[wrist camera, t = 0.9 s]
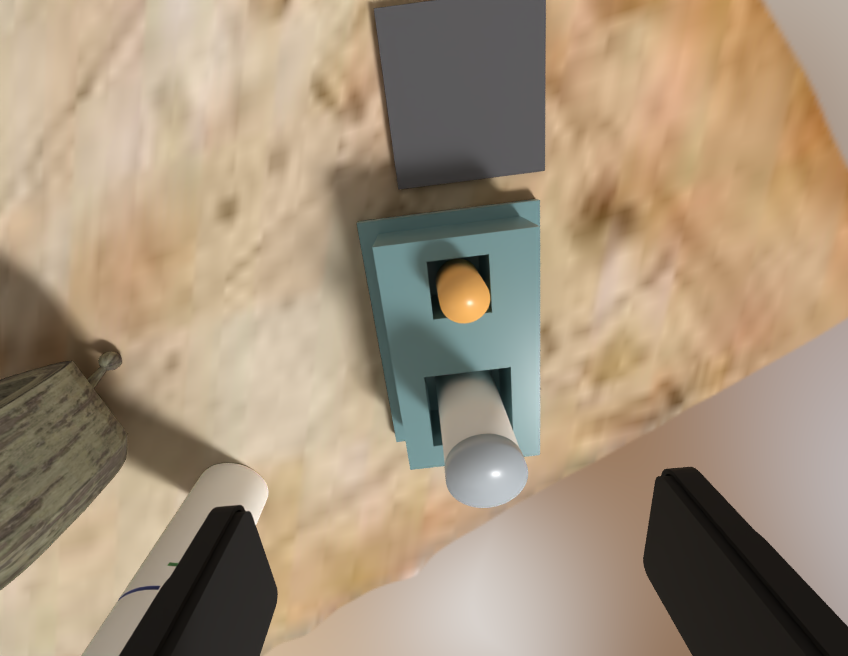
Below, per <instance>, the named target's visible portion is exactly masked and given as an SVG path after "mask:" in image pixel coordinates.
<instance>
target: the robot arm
mask: <svg viewBox="0 0 848 656" xmlns="http://www.w3.org/2000/svg"><path fill="white" fill-rule="evenodd" d="M643 563H644V568H645V571H646V574H647V576H648V578H649V580H650V582H651V583H652V585H653V587H654V589H655V590H656V592H657V594H658V596H659V597H660V599H661V601H662V603H663V604H664V606H665V608H666V610H667V611H668V613H669V615H670V617H671V619H672V620H673V622H674V624H675V625H676V627H677V629H678V631H679V633H680V634H681V636H682V638H683V640H684V641H685V643H686V645H687V647H688V648H689V650H690V652H691V654H692V655H693V656H848V626H847V625H846V624H845V623H844V622H843V621H842V620H841V619H840V618H839V617H838V616H837V615H836V614H835V613H834V612H833V610H832V609H831V608H830V607H829V606H828V605H827V604H826V603H825V602H824V601H823V600H822V599H821V598H820V597H819V596H818V595H817V594H816V593H815V591H814V590H812V588H811V587H810V586H809V585H808V584H807V583H806V582H805V581H804V580H803V579H802V578H801V577H800V576H799V575H798V574H797V572H795V570H794V569H793V568H792V567H791V566H790V565H789V564H788V563H787V562H786V561H785V560H784V559H783V558H782V557H781V556H780V555H779V553H778V552H777V551H776V550H775V549H774V548H773V547H772V546H771V545H770V544H769V543H768V542H767V541H766V540H765V539H764V538H763V537H762V536H761V535H760V534H758V533H757V532H756V531H755V530H754V529H753V528H752V527H751V526H750V525H749V524H748V523H747V522H746V521H745V520H744V519H743V518H742V517H741V515H739V514H738V512H737V511H736V510H735V509H734V508H733V507H732V506H731V505H730V504H729V503H728V502H727V501H726V499H725V498H724V497H723V496H722V495H721V494H720V493H719V492H718V491H717V490H716V489H715V488H714V487H713V486H712V485H711V484H710V482H709V481H708V480H707V479H706V478H705V477H704V476H703V475H702V474H701V473H700V472H699V471H698V470H697V469H695V468H693V467H683V468H671V469H664V471H663V472H662V475H661V476H658V477H657V478H656V480H655V486H654V492H653V499H652V506H651V512H650V519H649V526H648V531H647V538H646V544H645V551H644V557H643ZM277 595H278V594H277V587H276V584H275V581H274V578H273V575H272V572H271V569H270V566H269V563H268V560H267V557H266V554H265V551H264V548H263V546H262V543H261V540H260V537H259V534H258V531H257V528H256V525H255V522H254V519H253V516H252V514H251V512H250V511H245V509H244V507H243V506H242V505H233V506H221V507H215V508H213V509H212V510H211V512H210V513H209V514H208V516H207V518H206V519H205V521H204V522H203V524H202V526H201V527H200V529H199V531H198V532H197V534H196V535H195V537H194V539H193V540H192V542H191V544H190V545H189V547H188V548H187V550H186V552H185V553H184V555H183V557H182V558H181V560H180V561H179V563H178V565H177V566H176V568H175V570H174V571H173V573H172V574H171V576H170V578H169V579H167V580H166V582H165V583H164V584H163V586H162V587H161V589H160V590H159V592H158V593H157V595H156V597H155V598H154V600H153V601H152V603H151V605H150V606H149V608H148V609H147V611H146V613H145V614H144V616H143V617H142V619H141V621H140V622H139V624H138V626H137V627H136V629H135V630H134V632H133V634H132V635H131V637H130V638H129V640H128V642H127V643H126V645H125V646H124V648H123V650H122V651H121V653H120V654H119V656H260V653H261V650H262V647H263V644H264V641H265V638H266V635H267V632H268V629H269V626H270V623H271V620H272V616H273V613H274V610H275V607H276V604H277Z"/></svg>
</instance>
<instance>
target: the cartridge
mask: <svg viewBox="0 0 848 656" xmlns="http://www.w3.org/2000/svg"><path fill="white" fill-rule="evenodd" d="M435 381H436V390H437V399H438V407H439V416H440V425H441V434H442V443H443V452H444V461H445V477H446V484H447V488H448V490H449V492H450V493H451V495H452V496H453V497H454V498H455V499H456V500H458V501H459V502H461V503H463V504H465V505H468V506H472V507H478V508H489V507H495V506H499V505H502V504H504V503H506V502H508V501H510V500H512V499H513V498H515V497H516V496H517V495H518V494H519V493H520V492H521V491H522V489H523V488H524V486H525V484H526V482H527V478H528V468H527V464H526V462H525V459H524V456H523V454H522V452H521V450H520V448H519V445H518V443H517V440H516V437H515V435H514V432H513V430H512V427H511V424H510V422H509V419H508V416H507V414H506V411H505V408H504V406H503V403H502V400H501V398H500V395H499V392H498V390H497V387H496V384H495V382H494V379H493V376H492V374H491V371H490V370H482V371H474V372H465V373H457V374H449V375H440V376H435Z"/></svg>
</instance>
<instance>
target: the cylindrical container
mask: <svg viewBox="0 0 848 656" xmlns="http://www.w3.org/2000/svg"><path fill="white" fill-rule="evenodd" d="M267 497H268V487H267V484H266V482H265V481H264V479H263V478H262V477H261V476H260V475H259V474H258V473H257V472H256V471H254V470H252V469H251V468H249V467H246V466H244V465H240V464H236V463H221V464H216V465H213V466H211V467H209V468H208V469H206V470H205V471H204V472H203V473H202V474H201V476H200V477H199V479H198V480H197V482H196V483H195V485H194V486H193V488H192V489H191V491H190V492H189V494H188V495H187V497H186V499H185V500H184V502H183V503H182V505H181V506H180V508H179V509H178V511H177V512H176V514H175V515H174V517H173V518H172V520H171V521H170V523H169V524H168V526H167V527H166V529H165V530H164V532H163V533H162V535H161V536H160V538H159V539H158V541H157V542H156V544H155V545H154V547H153V548H152V550H151V551H150V553H149V554H148V556H147V557H146V559H145V560H144V562H143V563H142V565H141V566H140V568H139V569H138V571H137V573H136V574H135V576H134V577H133V579H132V580H131V582H130V583H129V585H128V586H127V588H126V589H125V591H124V592H123V594H122V595H121V597H120V598H119V600H118V602H117V603H116V604H115V606H114V607H113V609H112V610H111V612H110V613H109V615H108V616H107V618H106V619H105V621H104V622H103V624H102V625H101V627H100V628H99V630H98V631H97V633H96V634H95V636H94V637H93V639H92V640H91V642H90V643H89V645H88V646H87V648H86V649H85V651H84V653H83V654H82V656H119V654H120V653H121V651H122V650H123V648H124V646H125V645H126V643H127V642H128V640H129V638H130V637H131V635H132V634H133V632H134V630H135V629H136V627H137V626H138V624H139V622H140V621H141V619H142V617H143V616H144V614H145V613H146V611H147V609H148V608H149V606H150V605H151V603H152V601H153V600H154V598H155V597H156V595H157V593H158V592H159V590H160V589H161V587H162V586H163V584H164V583H165V582H166V580H167V579H169V578H170V576H171V574H172V573H173V571H174V570H175V568H176V566H177V565H178V563H179V561H180V560H181V558H182V557H183V555H184V553H185V552H186V550H187V548H188V547H189V545H190V544H191V542H192V540H193V539H194V537H195V535H196V534H197V532H198V531H199V529H200V527H201V526H202V524H203V522H204V521H205V519H206V518H207V516H208V514H209V513H210V512H211V510H212V509H213V508H215V507H221V506H233V505H242V506H243V507H244V509H245V511H250V512H251V514H252V516H253V519H254V522H255V525H256V524H257V522H258V519H259V517H260V515H261V512H262V510H263V508H264V505H265V503H266V500H267Z"/></svg>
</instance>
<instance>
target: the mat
mask: <svg viewBox="0 0 848 656" xmlns="http://www.w3.org/2000/svg"><path fill="white" fill-rule="evenodd" d="M374 14H375V21H376V28H377V36H378V43H379V50H380V58H381V65H382V72H383V80H384V87H385V94H386V102H387V109H388V116H389V124H390V131H391V138H392V146H393V153H394V160H395V168H396V175H397V182H398V189H406V188H414V187H422V186H430V185H438V184H445V183H453V182H461V181H469V180H477V179H485V178H492V177H500V176H508V175H516V174H524V173H532V172H539V171H545V39H546V0H433V1H425V2H418V3H411V4H403V5H396V6H389V7H381V8H374Z"/></svg>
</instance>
